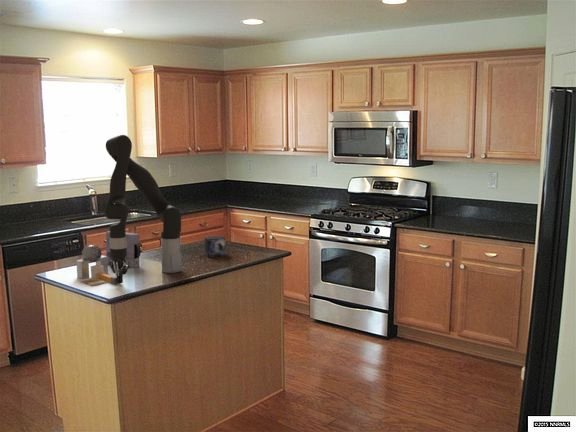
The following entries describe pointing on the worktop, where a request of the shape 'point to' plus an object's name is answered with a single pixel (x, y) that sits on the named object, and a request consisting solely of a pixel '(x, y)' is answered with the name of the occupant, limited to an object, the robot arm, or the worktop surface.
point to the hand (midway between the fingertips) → (119, 282)
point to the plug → (102, 274)
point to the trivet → (93, 281)
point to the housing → (90, 261)
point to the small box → (215, 246)
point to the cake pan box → (132, 249)
